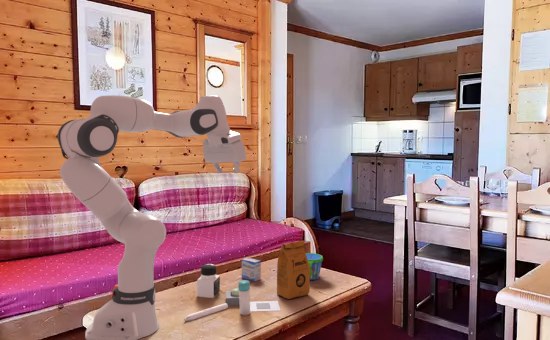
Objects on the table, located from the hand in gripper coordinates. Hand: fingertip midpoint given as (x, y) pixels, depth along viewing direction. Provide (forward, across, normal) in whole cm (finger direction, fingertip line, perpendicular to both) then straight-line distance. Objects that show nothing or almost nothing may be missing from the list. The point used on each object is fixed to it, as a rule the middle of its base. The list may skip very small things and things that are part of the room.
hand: (228, 172), depth 161 cm
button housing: (+48, +1, -13) cm, 50 cm away
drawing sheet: (+50, +12, -10) cm, 52 cm away
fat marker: (+47, +12, -18) cm, 52 cm away
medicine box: (+54, -13, +9) cm, 56 cm away
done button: (+47, +2, -12) cm, 48 cm away
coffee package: (+54, +14, +6) cm, 56 cm away
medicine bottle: (+47, -12, -15) cm, 51 cm away
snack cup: (+60, +6, +27) cm, 66 cm away
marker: (+45, +2, -28) cm, 53 cm away
